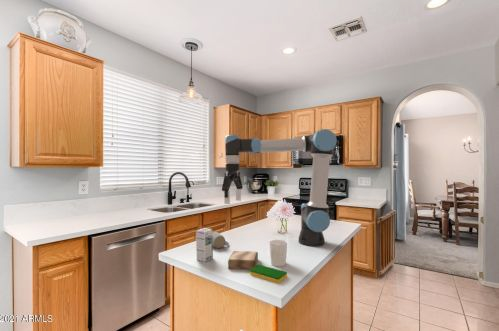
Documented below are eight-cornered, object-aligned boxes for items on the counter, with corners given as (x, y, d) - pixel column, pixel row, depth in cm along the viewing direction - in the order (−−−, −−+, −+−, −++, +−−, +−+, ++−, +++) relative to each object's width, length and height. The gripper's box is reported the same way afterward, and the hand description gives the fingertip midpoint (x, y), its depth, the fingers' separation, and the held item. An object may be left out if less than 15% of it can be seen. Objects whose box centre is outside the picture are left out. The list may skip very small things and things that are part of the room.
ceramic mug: (214, 250, 134) (214, 235, 134) (208, 246, 141) (208, 232, 141) (231, 246, 140) (231, 233, 140) (224, 243, 147) (225, 230, 147)
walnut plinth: (257, 259, 120) (257, 251, 120) (255, 269, 108) (255, 260, 108) (233, 258, 121) (233, 250, 121) (228, 268, 109) (228, 259, 109)
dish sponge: (259, 269, 109) (259, 264, 109) (287, 277, 101) (287, 271, 101) (249, 275, 103) (249, 269, 103) (278, 284, 95) (278, 278, 95)
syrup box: (205, 262, 117) (205, 231, 117) (196, 259, 120) (195, 229, 120) (213, 258, 122) (212, 228, 122) (204, 256, 125) (203, 227, 125)
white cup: (268, 261, 118) (268, 240, 118) (284, 260, 118) (284, 239, 119) (271, 267, 110) (271, 245, 110) (288, 266, 111) (288, 244, 111)
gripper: (236, 163, 149) (237, 198, 148) (214, 163, 126) (215, 204, 126) (247, 163, 146) (248, 199, 145) (227, 162, 123) (228, 205, 123)
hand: (233, 202), depth 136 cm, fingers open, 13 cm apart
